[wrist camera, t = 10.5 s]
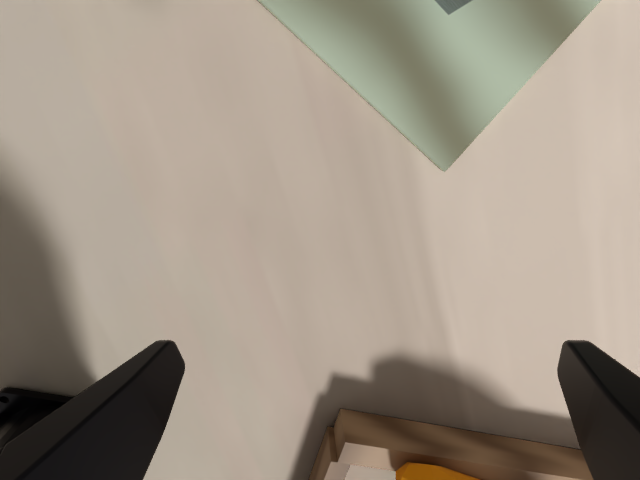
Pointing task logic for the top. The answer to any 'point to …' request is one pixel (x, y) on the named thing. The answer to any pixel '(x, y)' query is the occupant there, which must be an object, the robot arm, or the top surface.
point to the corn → (429, 473)
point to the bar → (451, 5)
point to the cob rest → (439, 451)
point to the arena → (433, 58)
